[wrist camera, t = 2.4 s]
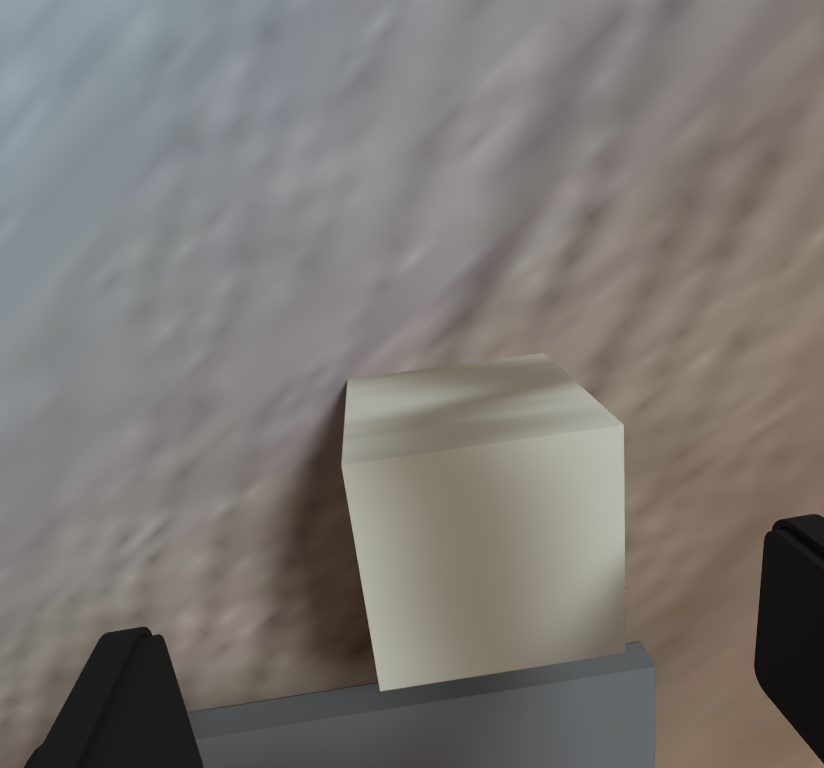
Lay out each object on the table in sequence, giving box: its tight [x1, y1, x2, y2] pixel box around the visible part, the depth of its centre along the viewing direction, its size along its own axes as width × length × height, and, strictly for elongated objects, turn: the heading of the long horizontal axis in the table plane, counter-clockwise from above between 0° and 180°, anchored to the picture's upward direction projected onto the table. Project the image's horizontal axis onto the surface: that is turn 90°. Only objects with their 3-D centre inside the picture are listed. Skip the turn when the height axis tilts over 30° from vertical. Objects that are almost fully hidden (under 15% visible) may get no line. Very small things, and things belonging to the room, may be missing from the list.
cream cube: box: [341, 353, 626, 691], centre depth 14 cm, size 5×5×5 cm
